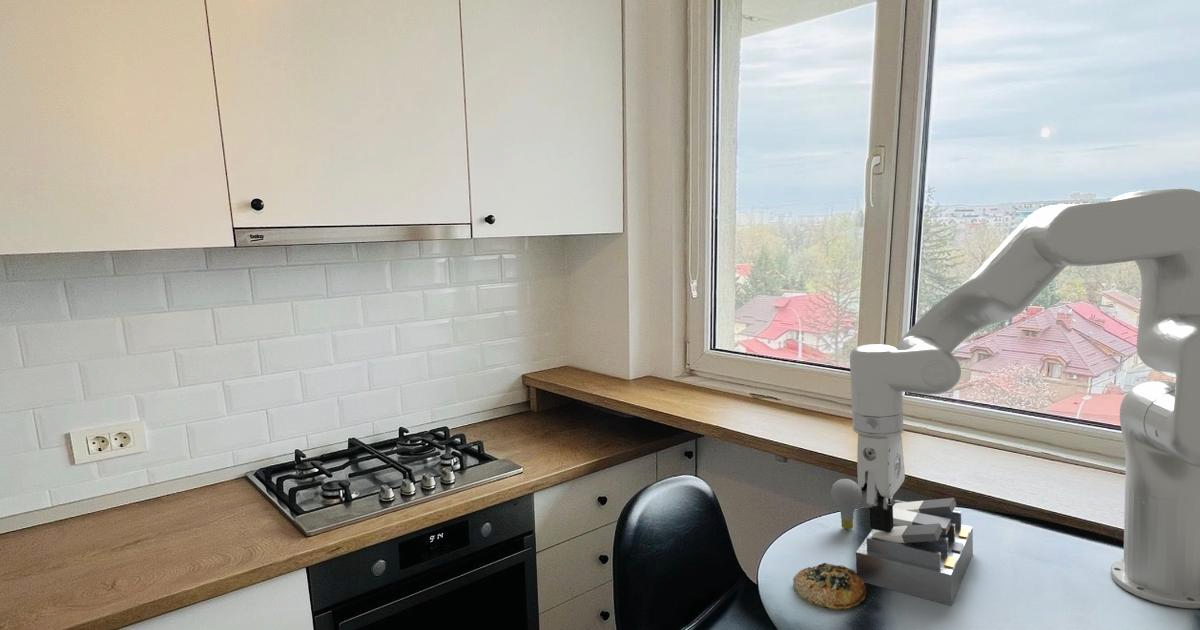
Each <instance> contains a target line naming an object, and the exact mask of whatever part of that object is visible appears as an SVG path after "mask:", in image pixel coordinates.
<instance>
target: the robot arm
mask: <svg viewBox="0 0 1200 630" xmlns="http://www.w3.org/2000/svg"><path fill="white" fill-rule="evenodd" d="M1133 261H1134V262H1135V263H1136V265H1137V267H1138V270H1139V274H1140V281H1141V283H1140V285H1141V297H1140V304H1139V305H1140V308H1139V316H1138V325H1137V326H1138V328H1137V335H1136V336H1137V337H1136V352H1137V356H1138V357H1139V360H1141V362H1142V363H1143V364H1144V365H1146V366H1147V367H1149V368H1150V369H1153V370H1154V371H1156V372H1159V373H1161V374H1163V375H1166V376H1167V377H1168V376H1169V377H1171V378H1174V379H1175V382H1174V381H1173V382H1172V381H1169V380H1168V381H1167V380H1151V381H1145V382H1142V383H1139V384H1138V385H1135V386H1134V387H1133V388H1132V387H1131V389H1130V390H1129V391H1128V392H1127V393H1126V394H1125V395H1124V397H1123V398H1122V400H1121V404H1120V408H1119V421H1120V431H1121V435H1122V436H1121V437H1122V441H1123V445H1124V446H1123V447H1124V457H1125V458H1124V459H1125V480H1124V481H1125V482H1124V516H1123V517H1124V518H1123V520H1124V521H1123V524H1124V525H1123V526H1124V528H1123V559H1119V560H1117V561H1115V562H1114V563H1112V565H1111V566H1110V576H1111V578H1112V580H1113V581H1114V582H1115V583H1116V584H1117V585H1118V586H1119V587H1121V588H1122V589H1123V590H1125V591H1126V592H1128V593H1129V594H1133V595H1134V596H1137V597H1139V598H1140V599H1144V600H1147V601H1149V602H1153V603H1157V604H1161V605H1165V606H1168V607H1169V606H1170V607H1174V608H1183V609H1200V191H1198V190H1194V189H1187V188H1172V189H1170V188H1167V189H1156V190H1155V189H1152V190H1140V191H1139V190H1137V191H1132V192H1126V193H1124V194H1121V195H1118V196H1116V197H1114V198H1112V199H1111V200H1106V201H1098V202H1087V203H1074V204H1073V203H1072V204H1054V205H1052V204H1051V205H1048V206H1044V207H1041V208H1039V209H1036V210H1035V211H1034V212H1032V213H1031V214H1029V215H1028V216H1027V217H1026V218H1025V219H1024V220H1023V221H1022V222H1021V223H1020V224H1019V225H1018V226H1017V227H1016V228H1015V229H1014V230H1013V232H1011V234H1010V235H1009V236H1007V238H1006V239H1005V240H1004V241H1003V242H1002V244H1000V246H999V247H997V249H996V250H995V251H994V252H993V253H992V254H991V255H990V256H989V258H987V259H986V261H985V262H984V263H983V264H981V266H980V267H979V268H978V269H977V270H976V271H975V272H974V273H973V274H972V275H971V276H970V277H969V278H968V279H967V280H965V282H963V283H962V284H960V285H959V286H958V287H956V288H955V289H953V290H952V291H951V292H949V293H948V295H946V296H945V297H944V298H942V299H941V300H939V301H938V302H937V303H935V304H934V305H933V306H931V308H929V310H927V311H926V312H925V313H924V314H923V315H922V316H921V318H919V319H918V321H917V322H916V323H915V324H913V325H912V327H911V328H910V329H909V330H908V331H907V333H905V335H903V337H902V338H901V339H900V341H898V344H897V345H896V346H892V345H889V344H882V343H880V344H879V343H875V344H874V343H872V344H871V343H870V344H862V345H858V346H856V347H854V348H853V349H852V350H851V352H850V355H849V369H850V371H849V372H850V391H851V392H850V393H851V394H850V395H851V411H852V412H851V413H852V416H851V417H852V430H853V432H854V433H856V434H857V455H856V456H857V462H856V463H857V466H856V467H857V468H856V469H857V470H856V471H857V484H858V487H859V491H860V492H861V493H862V495H865V494H866V506H869V525H870V526H869V527H870V529H871V530H872V529H874V530H879V531H884V532H891V530H892V529H893V506H894V505H893V503H894V500H893V499H894V497H893V496H894V495H895V494H896V493H897V491H898V490H899V489H900V487H901V486H902V485H903V483H904V481H905V478H906V474H905V460H904V448H903V440H902V434H903V433H904V413H903V411H904V410H903V408H904V407H903V405H904V404H903V393H911V394H913V393H914V394H920V395H921V394H922V395H940V394H945V393H947V392H948V391H951V390H952V389H954V387H956V386H957V384H958V383H959V381H960V378H961V375H962V369H961V368H962V367H961V364H960V362H959V361H958V359H957V357H956V356H955V355H954V354H953V353H952V352H954V351H955V349H956V348H957V347H958V346H960V344H962V343H963V342H964V341H965V340H967V338H969V337H970V336H971V335H973V334H975V333H976V332H977V331H980V330H981V329H983V328H985V327H988V326H991V325H994V324H997V323H1001V322H1004V321H1006V320H1009V319H1012V318H1014V317H1016V316H1017V315H1020V314H1021V313H1022V312H1023V311H1024V310H1025V309H1026V308H1027V307H1028V306H1029V305H1030V304H1031V303H1032V302H1033V301H1034V300H1035V299H1036V298H1037V296H1039V294H1040V293H1041V292H1042V291H1044V290H1045V288H1047V286H1048V285H1049V284H1050V283H1051V282H1052V281H1053V280H1054V279H1055V278H1056V277H1057V276H1058V275H1060V273H1061V272H1063V271H1064V269H1065V268H1066V267H1067V266H1070V267H1091V266H1093V267H1095V266H1102V265H1111V264H1120V263H1126V262H1127V263H1128V262H1133Z"/></svg>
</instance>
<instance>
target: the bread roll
mask: <svg viewBox="0 0 1200 630" xmlns="http://www.w3.org/2000/svg"><path fill="white" fill-rule="evenodd" d="M792 580H793V584H794V592H795V593H796V594H798V596H799V597H800V598H801V599H803V600H804V601H806V602H807V603H808V604H811V605H814V606H818V607H822V608H824V607H825V608H828V609H831V610H836V611H844V610H845V611H847V610H851V609H852V608H855V607H856V606H858V605H860V604H861V603H862V602H863V601H864V600H865V598H866V595H867V590H866V585H865V583H864V582H863V580H862V579H861V578H860V577H859V576H858V575H857V572H856V571H855V570H853V569H852V568H849V567H846V566H844V565H842V564H840V565H839V564H838V565H835V564H831V563H826V562H823V563H820V564H818V565H816V566H812V567H810V566H809V567H807V568H804V569H800V570H799V572H797V573H796V574H795V575H794V576H793V578H792Z"/></svg>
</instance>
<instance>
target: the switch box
mask: <svg viewBox="0 0 1200 630" xmlns="http://www.w3.org/2000/svg"><path fill="white" fill-rule="evenodd" d="M903 502H906V500H905V501H903V500H898V499H894V500H893V505H894V504H895V503H903ZM933 516H938V517H943V518H948V519H951V527H950V529H949V530H948V532H947V534H946V535H940V537H939V538H938V540H937V541H927V542H909V543H905V544H904V543H895V542H891V541H886V540H882V539H877V538H873V537H871V536H872V535H873V533H874V532H875V531H876V530H874V529H872V528H871V531H870V532H869V533H868V535H867V536H866V537H865V539H864V540H863V542H862V543H861V544H860V546H859V547H858V549H857V550H856V551H855V566H856V573H857V575H858V576H859V577H860V578H861V579H862V580H863V582H864V584H870V585H872V586H877V587H879V588H880V587H881V588H884V589H888V590H892V591H895V592H899V593H903V594H905V595H906V594H907V595H910V596H912V597H913V596H914V597H918V598H921V599H926V600H929V601H933V602H936V603H941V604H944V605H947V606H953V603H954V601H955V598H956V596H957V594H958V591H959V589H960V587H961V584H962V582H963V579H964V576H965V574H966V571H967V570H968V568H969V564H970V562H971V560H972V556H973V555H974V551H973V550H974V540H973V539H974V538H973V535H974V533H973V530H974V529H973V526H971V525H965V524H962V511H958V510H955V509H954V510H953V512H952V513H949V514H936V515H933ZM895 526H897V525H893V527H895Z"/></svg>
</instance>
